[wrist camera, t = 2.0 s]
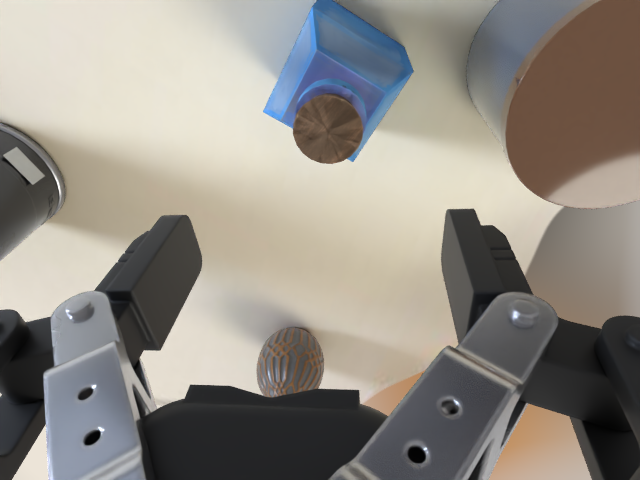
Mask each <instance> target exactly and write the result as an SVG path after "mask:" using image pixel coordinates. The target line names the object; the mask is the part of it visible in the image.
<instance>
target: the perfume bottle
mask: <svg viewBox="0 0 640 480" xmlns="http://www.w3.org/2000/svg"><path fill="white" fill-rule="evenodd" d="M413 72H414V71H413V68H412V66H411V63H410V61H409V58H408V56H407V53H406V50H405V48H404V47H403V46H402V45H400V44H399V43H397V42H396V41H394V40H393V39H391V38H390V37H388V36H387V35H385V34H383V33H382V32H380V31H379V30H377V29H376V28H374V27H373V26H371V25H370V24H368V23H367V22H365V21H364V20H362V19H360V18H359V17H357V16H356V15H354V14H353V13H351V12H350V11H348V10H347V9H345V8H344V7H342V6H341V5H339V4H337V3H336V2H334V1H333V0H317V1H316V3H315V4H314V5H313V7H312V9H311V11H310V13H309V15H308V17H307V19H306V21H305V24H304V26H303V28H302V30H301V32H300V34H299V36H298V38H297V41H296V43H295V45H294V47H293V49H292V51H291V53H290V55H289V58H288V60H287V62H286V64H285V66H284V68H283V70H282V72H281V75H280V77H279V79H278V81H277V83H276V85H275V87H274V89H273V92H272V94H271V96H270V98H269V100H268V102H267V104H266V106H265V109H264V111H263V112H264V113H266V114H268V115H269V116H271V117H273V118H275V119H277V120H278V121H280V122H282V123H284V124H286V125H287V126H289V127H291V128H293V136H294V138H295V141H296V144H297V146H298V147H299V149H300V150H301V151H302V153H303V154H305V155H306V156H307V157H309V158H310V159H311V160H314V161H317V162H320V163H327V164H333V163H337V162H342V161H344V160H345V159H349V160H350V161H352V162H353V161H354V160H355V158H356V157H357V155H358V154H359V152H360V151H361V149H362V148H363V146H364V145H365V143H366V142H367V140H368V139H369V137H370V136H371V134H372V133H373V131H374V130H375V128H376V127H377V125H378V124H379V122H380V121H381V119H382V118H383V116H384V115H385V113H386V112H387V110H388V109H389V107H390V106H391V104H392V103H393V101H394V100H395V98H396V97H397V95H398V94H399V92H400V91H401V89H402V88H403V86H404V85H405V83H406V82H407V80H408V79H409V77H410V76H411V75H412V73H413Z"/></svg>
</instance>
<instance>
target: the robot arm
mask: <svg viewBox="0 0 640 480" xmlns="http://www.w3.org/2000/svg"><path fill="white" fill-rule="evenodd" d="M64 200H65V185H64V181H63V178H62V176H61V173H60V171H59V169H58V168H57V166H56V164H55V163H54V162H53V160H52V159H51V158H50V156H49V155H48V154H47V153H46V152H45V151H44V150H43V149H42V148H41V147H40V146H39V145H38V144H37V143H36V142H34V141H33V140H32V139H30V138H29V137H27V136H26V135H24V134H23V133H21V132H19V131H18V130H16V129H14V128H12V127H9V126H7V125H4V124H1V123H0V261H1V260H2V259H3V258H4V257H5V256H7V255H8V254H9V253H10V252H11V251H12V250H13V249H14V248H16V247H17V246H18V245H19V244H20V243H21V242H22V241H23V240H25V239H26V238H27V237H28V236H29V235H30V234H31V233H32V232H34V231H35V230H36V229H37V228H38V227H40V225H42V224H43V223H45V222H46V221H47V220H48V219H49V218H51V217H52V216H53V215H55V214H56V213H57V212H58V211H59V210H60V209H61V207H62V205H63V203H64ZM441 263H442V272H443V276H444V281H445V285H446V290H447V294H448V299H449V303H450V307H451V312H452V316H453V321H454V325H455V329H456V334H457V338H458V343H459V345H458V346H457V347H456V348H453V347H451V346H446V347H445V348H444V349H443V350H442V351H441V352H440V353H439V354H438V356H437V357H436V358H435V359H434V361H433V362H432V363H431V364H430V366H429V367H428V368H427V369H426V371H425V372H424V373H423V374H422V376H421V377H420V378H419V379H418V380H417V382H416V383H415V384H414V385H413V387H412V388H411V389H410V390H409V392H408V393H407V394H406V395H405V397H404V398H403V399H402V400H401V402H400V403H399V404H398V405H397V406H396V408H395V409H394V410H393V411H392V413H391V414H390V415H389V416H387V415H385V414H383V413H381V412H380V411H378V410H375V409H373V408H371V407H368V406H365V405H362V404H360V398H359V390H338V389H312V390H307V391H302V392H297V393H292V394H287V395H282V396H277V397H265V396H262V395H259V394H255V393H252V392H248V391H245V390H242V389H238V388H235V387H232V386H214V385H190V387H189V389H188V392H187V394H186V397H185V399H181V400H178V401H175V402H172V403H169V404H167V405H165V406H162V407H160V408H158V409H157V406H156V403H155V400H154V397H153V394H152V391H151V387H150V384H149V381H148V378H147V375H146V372H145V368H144V365H143V363H142V361H141V359H140V356H141V354H142V352H143V351H144V350H158V351H160V350H161V348H162V346H163V344H164V342H165V340H166V338H167V336H168V334H169V332H170V330H171V328H172V326H173V325H174V323H175V321H176V319H177V317H178V315H179V313H180V311H181V309H182V307H183V305H184V303H185V301H186V299H187V297H188V295H189V293H190V291H191V289H192V287H193V285H194V283H195V281H196V279H197V277H198V276H199V274H200V271H201V268H202V255H201V251H200V248H199V245H198V242H197V239H196V236H195V233H194V230H193V227H192V223H191V221H190V219H189V217H188V216H187V215H164V216H161V217H160V218H159V220H158V221H157V222H156V224H155V225H154V226H153V227H152V229H151V230H150V231H147V232H145V233H144V234H142V235H141V236H139V237H138V238H137V239H135V240H134V241H133V242H132V243H131V245H130V246H129V247H128V248H127V250H126V251H125V254H123V255H122V256H121V257H120V259H119V260H118V263H116V264H115V265H114V266H113V267H112V269H111V270H110V271H109V273H108V274H107V275H106V276H105V278H104V279H103V280H102V281H101V283H100V284H99V285H98V286H97V288H96V289H95V290H94V291H90V292H84V293H81V294H78V295H76V296H73V297H71V298H69V299H68V300H66V301H65V302H63V303H62V304H61V305H59V306H58V307H57V308H56V310H55V311H54V312H53V314H52V316H51V317H47V318H43V319H39V320H34V321H30V322H25V321H24V320H23V319H22V317H21V316H20V315H19V313H18V312H17V311H15V310H0V393H1V394H2V396H1V397H0V480H12V478H13V477H14V475H15V474H16V472H17V470H18V469H19V467H20V465H21V464H22V462H23V460H24V459H25V457H26V455H27V454H28V452H29V451H30V449H31V447H32V446H33V444H34V442H35V441H36V439H37V437H38V436H39V434H40V433H41V431H42V429H43V428H44V426H45V424H46V438H47V457H48V476H49V480H488V479H489V478H490V475H491V473H492V471H493V469H494V466H495V464H496V462H497V460H498V458H499V456H500V454H501V452H502V450H503V449H504V447H505V445H506V443H507V442H508V440H509V438H510V436H511V434H512V432H513V431H514V429H515V427H516V425H517V423H518V422H519V420H520V418H521V416H522V414H523V412H524V411H525V409H526V407H527V405H528V404H532V405H535V406H538V407H542V408H545V409H548V410H551V411H555V412H557V413H561V414H564V415H567V416H570V419H571V422H572V425H573V428H574V430H575V433H576V436H577V439H578V442H579V444H580V447H581V450H582V453H583V456H584V458H585V461H586V464H587V467H588V469H589V472H590V475H591V478H592V480H640V318H639V317H634V316H616V317H612V318H610V319H608V320H607V321H606V322H605V323H604V324H603V326H602V329H599V328H595V327H590V326H587V325H582V324H577V323H574V322H570V321H567V320H564V319H561V318H559V317H558V316H557V314H556V312H555V310H554V309H553V308H552V307H551V306H550V305H549V304H548V303H547V302H545V301H544V300H542V299H541V298H538V297H537V296H534V295H533V293H532V291H531V289H530V287H529V285H528V283H527V280H526V278H525V276H524V274H523V272H522V270H521V268H520V266H519V263H518V261H517V260H516V257H515V255H514V253H513V251H512V250H511V246H510V244H509V242H508V240H507V238H506V236H505V235H504V234H503V233H502V232H500V231H499V230H498V229H497V228H496V227H494V226H493V225H484V226H481V225H480V222H479V220H478V217H477V215H476V212H475V210H474V209H448V210H447V211H446V216H445V225H444V234H443V243H442V253H441Z"/></svg>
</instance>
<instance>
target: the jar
mask: <svg viewBox="0 0 640 480" xmlns="http://www.w3.org/2000/svg"><path fill="white" fill-rule="evenodd" d="M466 77H467V86H468V90H469V94H470V97H471V99H472V102H473V104H474V105H475V107H476V108H477V110H478V112H479V113H480V115H481V116H482V117H483V119H484V120H485V122H486V123H487V125H488V126H489V128H490V129H491V131H492V132H493V134H494V135H495V137H496V138H497V140H498V141H499V143H500V144H501V146H502V147H503V151H504V153H505V156H506V158H507V161H508V163H509V164H510V166H511V168H512V169H513V171H514V172H515V174H516V175H517V177H518V178H519V180H520V181H521V182H522V183H523V184H524V185H525V186H526V187H527V188H528V189H529V190H530V191H532V192H533V193H534V194H536V195H537V196H539V197H541V198H543V199H544V200H547V201H549V202H552V203H554V204H558V205H562V206H566V207H572V208H581V209H597V208H608V207H613V206H619V205H624V204H627V203H631V202H635V201H638V200H640V0H500V1H499V2H498V3H497V4H496V5H495V6H494V8H493V9H492V10H491V11H490V12H489V14H488V15H487V16H486V18H485V19H484V21H483V22H482V24H481V26H480V27H479V29H478V31H477V33H476V35H475V38H474V40H473V42H472V45H471V48H470V52H469V55H468V61H467V73H466Z"/></svg>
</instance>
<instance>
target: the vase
mask: <svg viewBox="0 0 640 480" xmlns="http://www.w3.org/2000/svg"><path fill="white" fill-rule="evenodd" d="M323 371H324V358H323V353H322V350H321V347H320V345H319V343H318V341H317V340H316V339H315V338H314V337H313V336H312V335H311V334H310V333H308V332H307V331H305V330H303V329H299V328H286V329H283V330H280V331H278V332H276V333H274V334H273V335H272V336H271V337H270V338H269V339H268V340H267V341H266V343H265V344H264V346H263V348H262V350H261V352H260V355H259V358H258V363H257V380H258V385H259V388H260V390H261V392H262V394H263V396H265V397H277V396H282V395H287V394H292V393H297V392H302V391H307V390H312V389H318V388H319V386H320V383H321V380H322V377H323Z"/></svg>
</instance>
